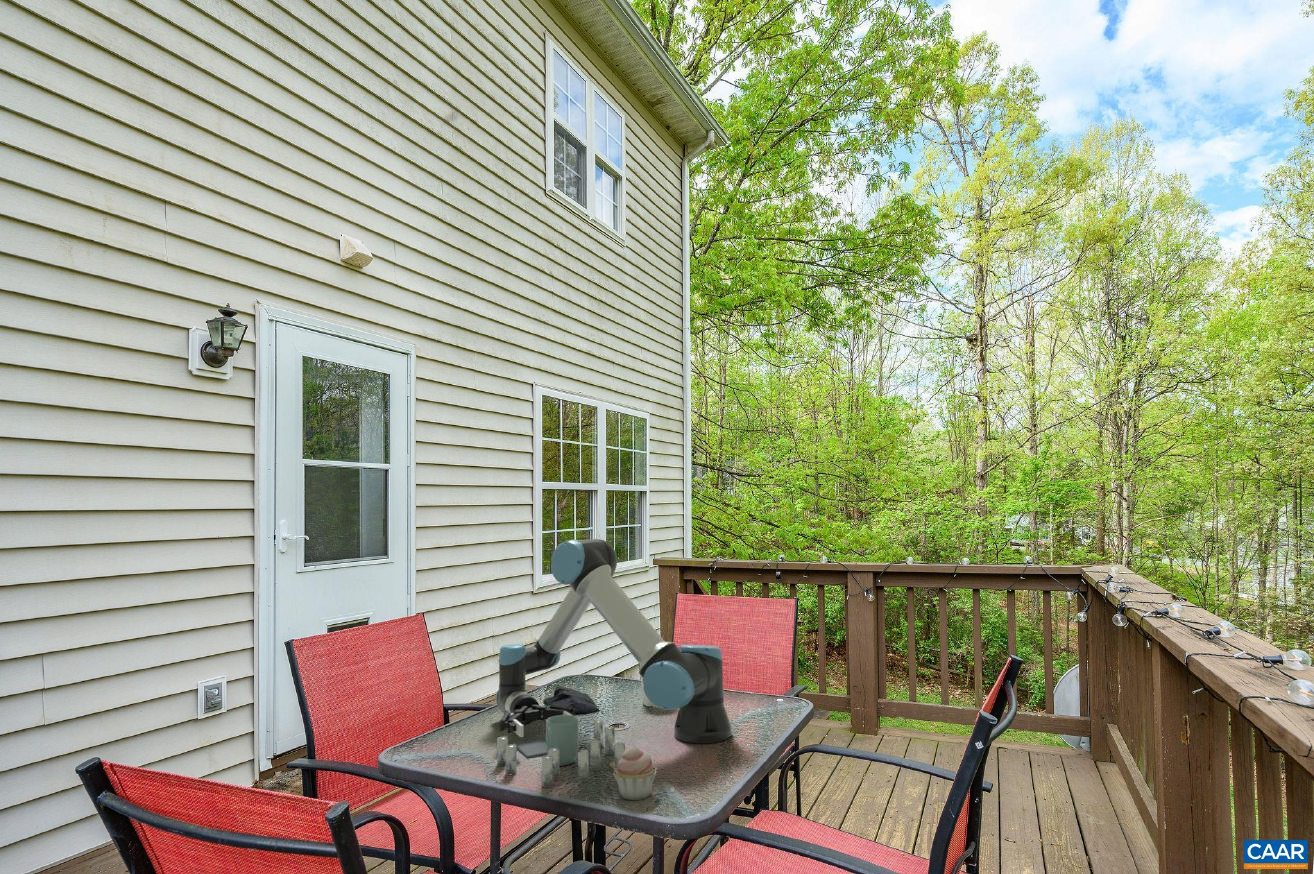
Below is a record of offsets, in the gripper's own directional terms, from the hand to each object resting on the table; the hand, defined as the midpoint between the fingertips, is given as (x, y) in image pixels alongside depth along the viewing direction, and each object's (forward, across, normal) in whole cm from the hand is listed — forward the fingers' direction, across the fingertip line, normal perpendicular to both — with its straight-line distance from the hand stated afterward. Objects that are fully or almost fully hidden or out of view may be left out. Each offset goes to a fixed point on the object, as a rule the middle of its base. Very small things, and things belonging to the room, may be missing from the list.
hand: (548, 726), depth 171 cm
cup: (+10, 0, -6) cm, 11 cm away
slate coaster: (-4, 0, -6) cm, 7 cm away
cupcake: (+36, -6, -6) cm, 37 cm away
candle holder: (-25, -44, -6) cm, 52 cm away
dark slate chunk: (-38, -21, -7) cm, 45 cm away
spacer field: (+13, -2, -6) cm, 14 cm away
